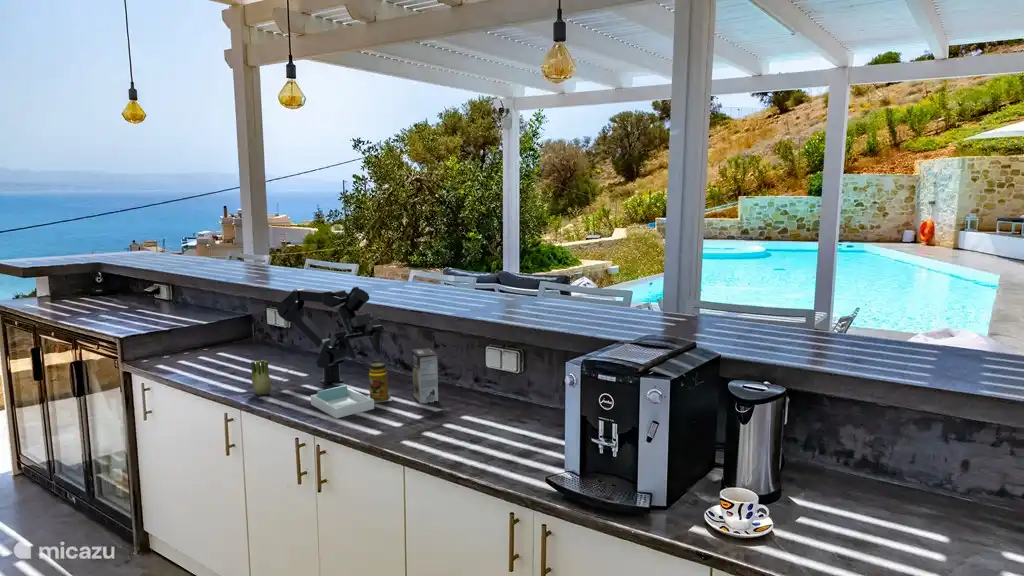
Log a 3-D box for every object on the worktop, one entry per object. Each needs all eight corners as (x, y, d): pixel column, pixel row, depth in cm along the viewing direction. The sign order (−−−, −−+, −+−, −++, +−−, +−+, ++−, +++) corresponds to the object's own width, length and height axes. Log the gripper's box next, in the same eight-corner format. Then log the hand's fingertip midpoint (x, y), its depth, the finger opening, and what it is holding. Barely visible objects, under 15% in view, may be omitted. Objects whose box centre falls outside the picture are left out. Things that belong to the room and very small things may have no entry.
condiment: (369, 403, 211) (367, 367, 209) (367, 396, 219) (365, 361, 217) (392, 401, 213) (390, 365, 211) (389, 393, 221) (387, 359, 219)
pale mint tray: (309, 403, 212) (309, 394, 211) (346, 395, 220) (345, 386, 220) (336, 418, 197) (335, 408, 197) (374, 408, 206) (373, 399, 205)
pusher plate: (317, 402, 210) (317, 391, 210) (346, 395, 217) (345, 385, 216) (319, 403, 210) (318, 392, 209) (347, 396, 216) (347, 385, 215)
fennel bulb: (251, 395, 222) (248, 361, 220) (262, 391, 226) (260, 357, 224) (263, 397, 219) (260, 363, 217) (274, 393, 223) (272, 359, 221)
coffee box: (412, 396, 218) (410, 349, 216) (431, 393, 220) (429, 347, 218) (419, 404, 210) (418, 355, 207) (439, 401, 212) (437, 353, 210)
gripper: (331, 309, 215) (349, 347, 208) (381, 302, 227) (399, 337, 220) (322, 328, 222) (339, 366, 215) (371, 321, 234) (388, 356, 227)
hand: (367, 356), depth 219 cm, fingers open, 9 cm apart
